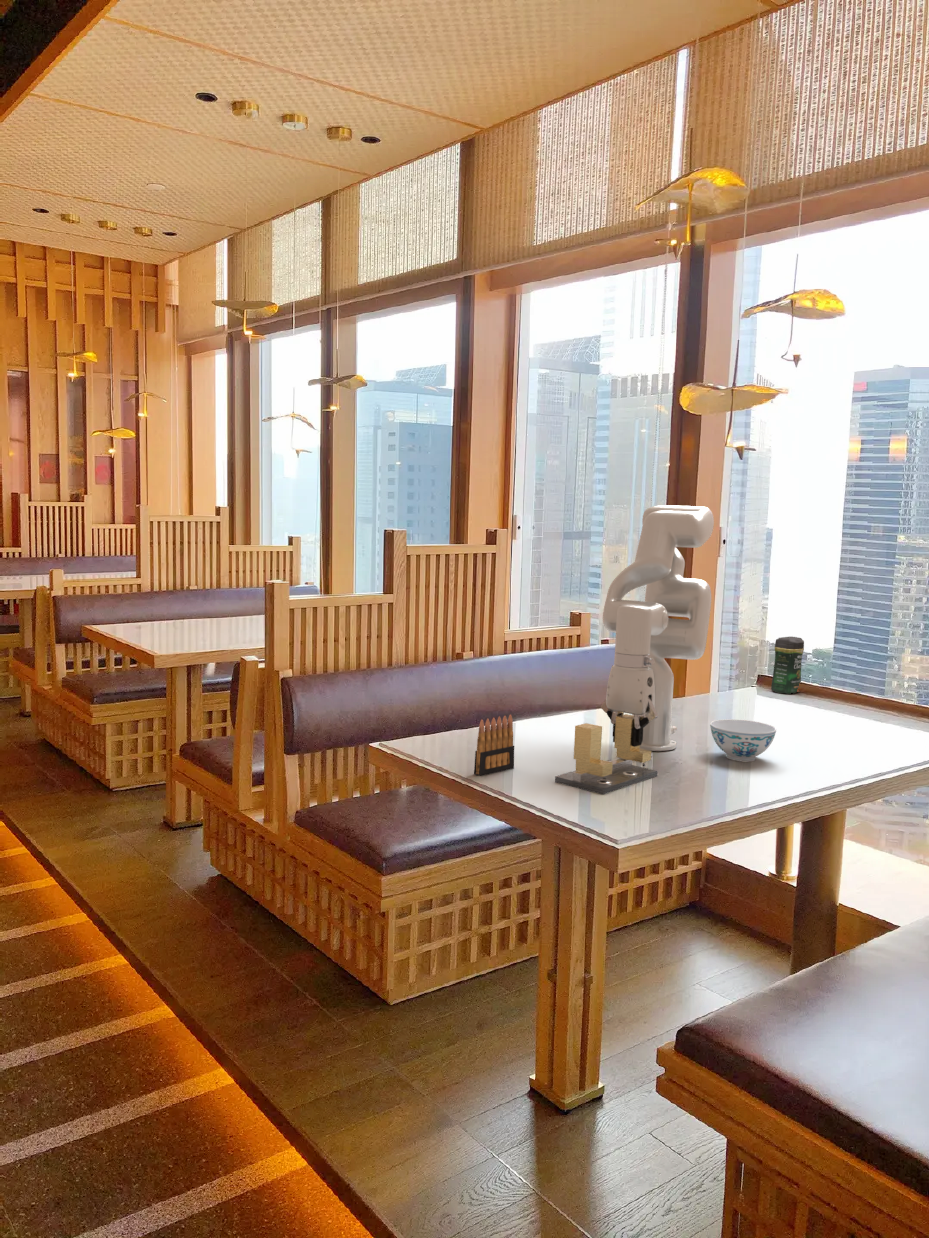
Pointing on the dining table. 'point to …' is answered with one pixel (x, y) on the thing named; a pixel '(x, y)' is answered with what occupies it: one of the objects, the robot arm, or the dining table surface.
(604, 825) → the dining table surface
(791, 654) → the coffee jar
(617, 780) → the hole plate
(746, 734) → the chinaware
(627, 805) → the dining table surface
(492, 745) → the ammunition clip
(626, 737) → the block
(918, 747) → the dining table surface
